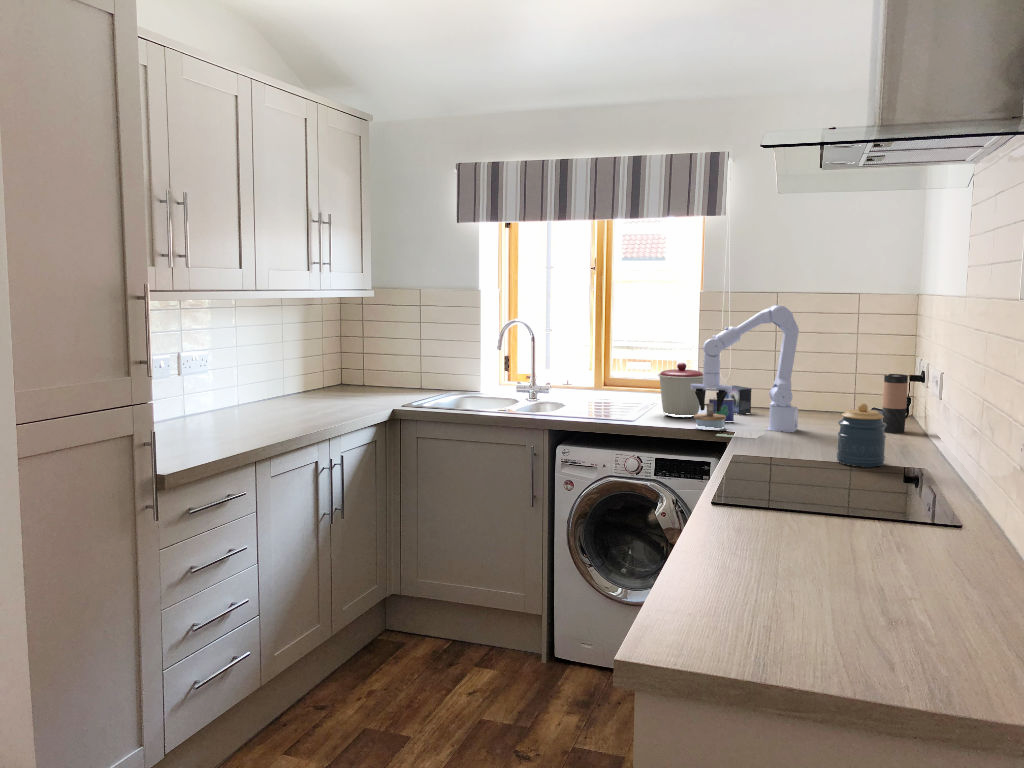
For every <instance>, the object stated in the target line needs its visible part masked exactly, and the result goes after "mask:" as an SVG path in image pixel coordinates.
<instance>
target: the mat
mask: <svg viewBox="0 0 1024 768" xmlns="http://www.w3.org/2000/svg"><path fill="white" fill-rule="evenodd" d="M715 436H716V437H717V436H718V437H727V438H734V437H733V435H727V434H719V433H717V434H715Z"/></svg>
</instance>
